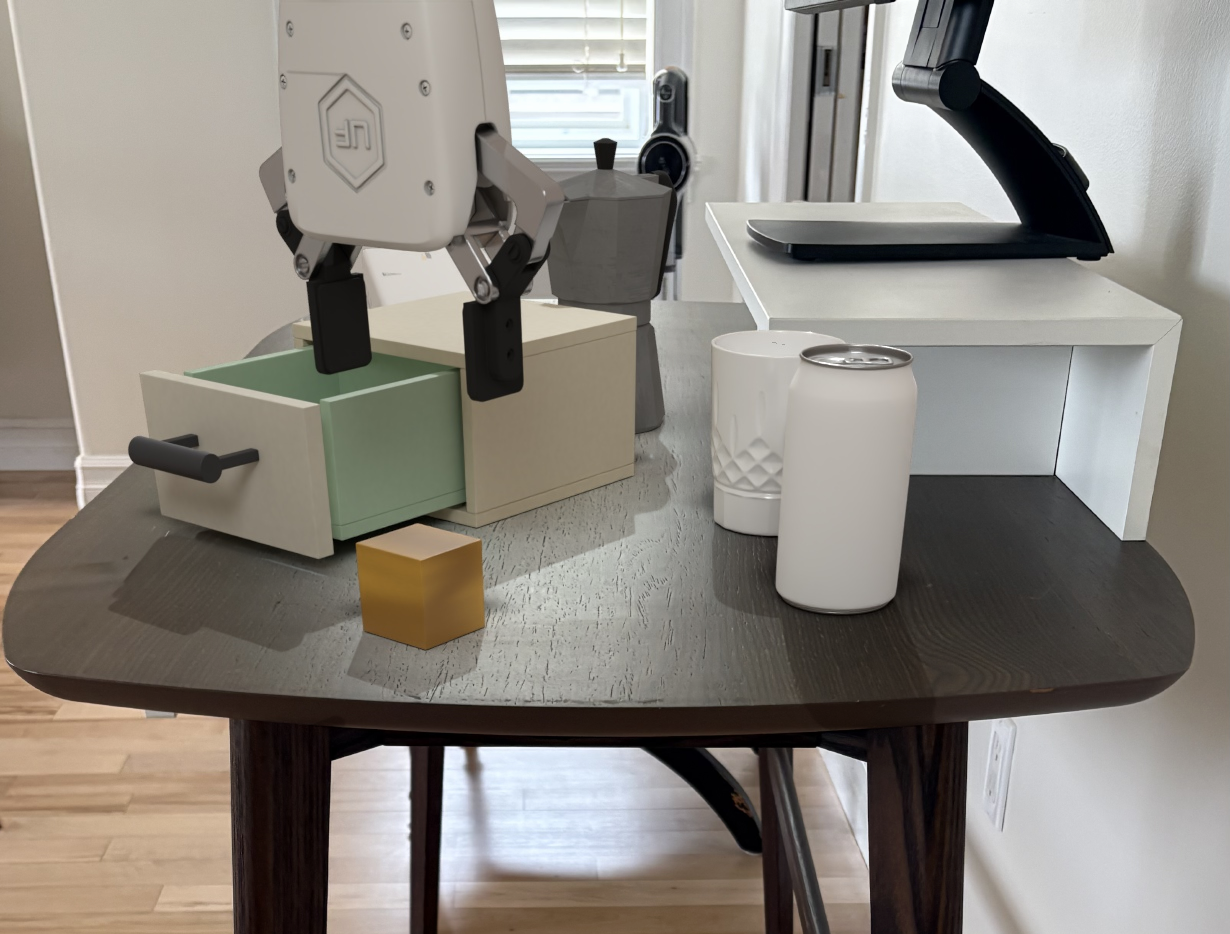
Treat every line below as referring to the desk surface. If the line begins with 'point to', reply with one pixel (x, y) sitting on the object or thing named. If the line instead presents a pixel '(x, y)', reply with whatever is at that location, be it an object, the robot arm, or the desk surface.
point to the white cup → (752, 423)
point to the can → (845, 478)
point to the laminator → (409, 275)
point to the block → (421, 585)
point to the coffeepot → (617, 258)
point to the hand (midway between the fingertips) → (418, 382)
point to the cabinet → (527, 401)
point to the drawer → (303, 446)
